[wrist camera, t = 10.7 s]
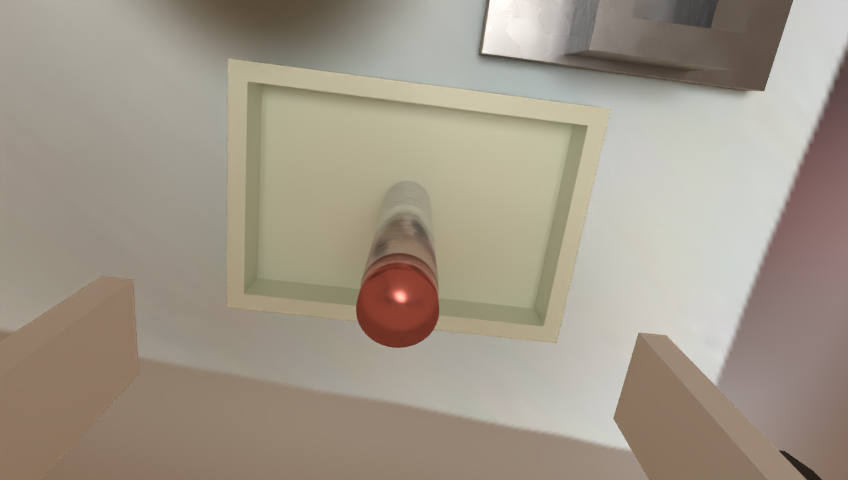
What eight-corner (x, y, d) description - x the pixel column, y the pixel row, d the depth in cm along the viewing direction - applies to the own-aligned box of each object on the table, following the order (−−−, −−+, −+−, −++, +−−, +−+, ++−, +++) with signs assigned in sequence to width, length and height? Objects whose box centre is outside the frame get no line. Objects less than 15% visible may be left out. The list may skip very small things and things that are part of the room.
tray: (245, 285, 32) (226, 307, 29) (249, 61, 28) (227, 58, 25) (543, 318, 33) (556, 342, 30) (590, 105, 29) (610, 108, 26)
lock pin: (382, 223, 30) (351, 344, 16) (386, 178, 30) (358, 265, 16) (427, 228, 31) (435, 352, 16) (432, 184, 30) (446, 275, 16)
